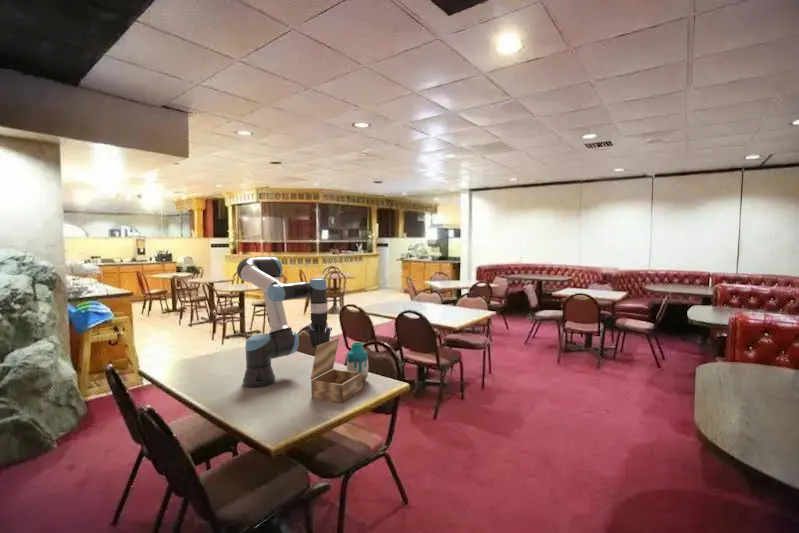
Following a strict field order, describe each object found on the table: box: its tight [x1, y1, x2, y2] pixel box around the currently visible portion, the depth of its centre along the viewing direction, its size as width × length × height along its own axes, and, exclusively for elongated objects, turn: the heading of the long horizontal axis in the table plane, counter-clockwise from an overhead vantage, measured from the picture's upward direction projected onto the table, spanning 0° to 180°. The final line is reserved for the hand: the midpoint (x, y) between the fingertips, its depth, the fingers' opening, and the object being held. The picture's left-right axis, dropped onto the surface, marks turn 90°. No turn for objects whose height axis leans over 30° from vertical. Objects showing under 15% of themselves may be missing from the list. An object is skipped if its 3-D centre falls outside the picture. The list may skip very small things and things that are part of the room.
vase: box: [346, 341, 369, 382], centre depth 200 cm, size 11×11×19 cm
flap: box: [310, 337, 340, 381], centre depth 186 cm, size 16×17×1 cm
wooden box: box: [310, 368, 364, 405], centre depth 184 cm, size 16×18×8 cm
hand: (320, 362), depth 187 cm, fingers closed
